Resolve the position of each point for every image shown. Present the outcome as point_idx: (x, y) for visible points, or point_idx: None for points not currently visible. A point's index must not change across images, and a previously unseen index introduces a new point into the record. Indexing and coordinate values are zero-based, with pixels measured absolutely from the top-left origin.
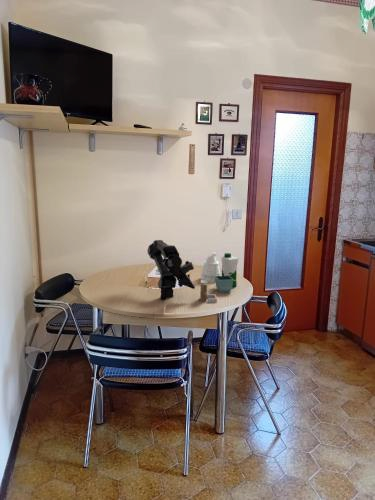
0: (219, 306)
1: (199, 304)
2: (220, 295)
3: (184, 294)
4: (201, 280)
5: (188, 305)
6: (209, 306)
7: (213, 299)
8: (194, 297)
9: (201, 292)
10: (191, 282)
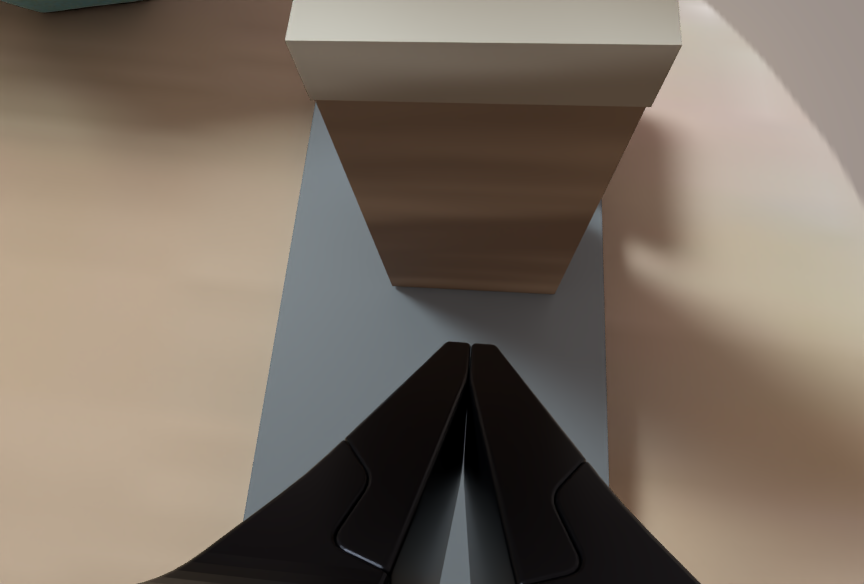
0: (679, 69)
1: (612, 333)
2: (214, 10)
3: (44, 547)
4: (310, 17)
5: (684, 541)
6: (695, 194)
7: None
8: (245, 375)
9: (589, 217)
10: (519, 465)
